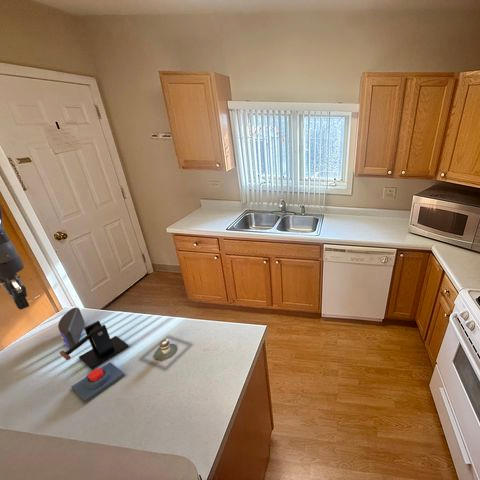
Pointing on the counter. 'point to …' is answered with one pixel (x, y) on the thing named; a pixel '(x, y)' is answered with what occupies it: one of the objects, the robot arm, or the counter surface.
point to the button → (96, 374)
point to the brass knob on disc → (165, 350)
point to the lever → (66, 354)
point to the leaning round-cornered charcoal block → (71, 326)
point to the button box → (97, 382)
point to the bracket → (101, 346)
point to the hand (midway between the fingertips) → (23, 307)
